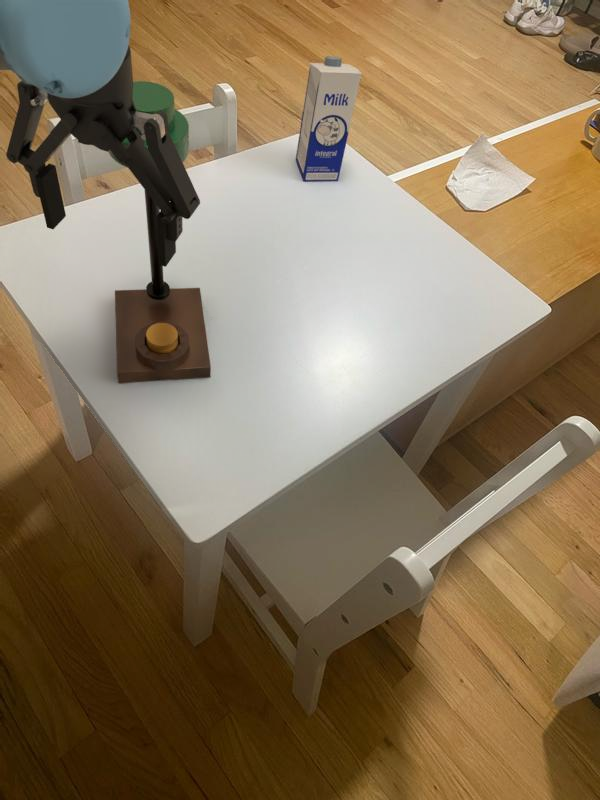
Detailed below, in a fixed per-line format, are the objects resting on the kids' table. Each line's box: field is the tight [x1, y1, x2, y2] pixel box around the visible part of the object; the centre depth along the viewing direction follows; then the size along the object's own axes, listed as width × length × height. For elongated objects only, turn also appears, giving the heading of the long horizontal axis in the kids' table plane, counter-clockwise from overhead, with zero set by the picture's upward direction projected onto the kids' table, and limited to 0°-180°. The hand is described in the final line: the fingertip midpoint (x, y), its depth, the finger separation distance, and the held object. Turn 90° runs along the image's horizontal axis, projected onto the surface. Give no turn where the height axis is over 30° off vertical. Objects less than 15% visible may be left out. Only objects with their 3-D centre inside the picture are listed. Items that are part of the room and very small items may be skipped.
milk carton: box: [295, 55, 363, 182], centre depth 105 cm, size 7×7×20 cm
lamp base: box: [114, 287, 212, 384], centre depth 83 cm, size 12×15×4 cm
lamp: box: [107, 80, 190, 300], centre depth 74 cm, size 9×9×27 cm
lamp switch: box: [146, 323, 178, 354], centre depth 79 cm, size 4×4×2 cm
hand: (111, 240), depth 68 cm, fingers open, 13 cm apart
